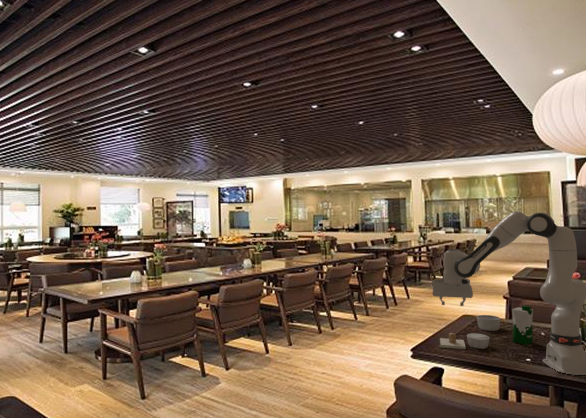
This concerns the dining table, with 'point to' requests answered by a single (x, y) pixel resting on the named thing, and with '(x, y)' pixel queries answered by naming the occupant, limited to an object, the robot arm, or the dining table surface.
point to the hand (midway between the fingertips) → (452, 305)
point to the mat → (452, 347)
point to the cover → (452, 341)
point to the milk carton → (522, 325)
